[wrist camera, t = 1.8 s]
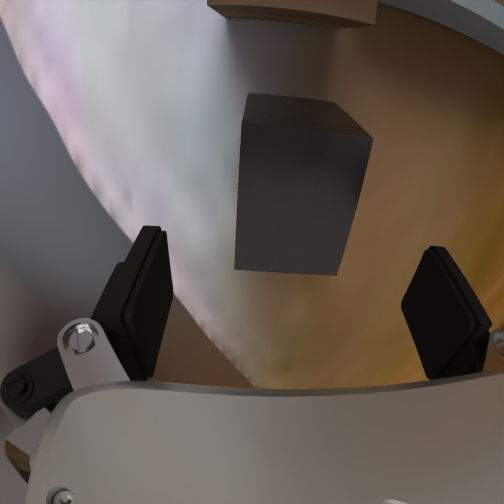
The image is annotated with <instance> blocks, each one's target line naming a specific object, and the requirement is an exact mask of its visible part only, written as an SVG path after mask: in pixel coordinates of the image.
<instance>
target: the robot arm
mask: <svg viewBox="0 0 504 504" xmlns="http://www.w3.org/2000/svg"><path fill="white" fill-rule="evenodd" d="M172 299H173V284H172V277H171V269H170V260H169V251H168V242H167V233H166V231H161V227H160V226H143V227H142V229H141V231H140V233H139V234H138V236H137V238H136V240H135V242H134V244H133V246H132V248H131V250H130V252H129V254H128V256H127V258H126V260H125V262H119V263H118V264H117V265H116V267H115V269H114V271H113V273H112V275H111V277H110V279H109V281H108V283H107V285H106V287H105V289H104V291H103V293H102V295H101V297H100V299H99V302H98V303H97V305H96V308H95V310H94V312H93V314H92V316H91V319H87V318H84V319H77V320H74V321H72V322H70V323H68V324H67V325H66V326H65V327H64V328H63V329H62V330H61V332H60V333H59V335H58V340H57V344H58V347H56V348H54V349H52V350H50V351H49V352H47V353H45V354H43V355H41V356H39V357H37V358H35V359H33V360H31V361H30V362H28V363H26V364H24V365H22V366H20V367H18V368H16V369H14V370H13V371H11V372H10V373H9V374H7V376H6V377H5V378H4V379H3V382H2V384H1V388H0V504H504V331H503V330H500V329H496V330H493V331H492V332H491V333H489V331H488V330H489V328H490V327H491V326H492V322H491V320H490V319H489V317H488V315H487V313H486V311H485V310H484V308H483V306H482V305H481V303H480V301H479V299H478V298H477V296H476V294H475V293H474V291H473V289H472V288H471V286H470V285H469V283H468V281H467V280H466V278H465V277H464V275H463V274H462V272H461V270H460V269H459V267H458V266H457V264H456V263H455V261H454V260H453V258H452V257H451V255H450V254H449V252H448V251H447V250H446V248H445V247H440V246H430V247H429V248H428V249H427V250H425V252H424V254H423V256H422V259H421V261H420V263H419V265H418V268H417V270H416V272H415V274H414V276H413V278H412V281H411V283H410V285H409V287H408V289H407V291H406V293H405V295H404V297H403V299H402V302H401V309H402V312H403V314H404V317H405V319H406V322H407V324H408V327H409V330H410V332H411V335H412V338H413V340H414V343H415V346H416V348H417V351H418V354H419V357H420V360H421V362H422V365H423V368H424V371H425V374H426V377H427V378H428V379H430V380H427V381H420V382H411V383H402V384H392V385H381V386H368V387H353V388H331V389H255V388H234V387H232V388H231V387H215V386H201V385H189V384H177V383H165V382H152V381H147V378H148V377H150V378H152V377H153V374H154V370H155V366H156V362H157V358H158V354H159V349H160V346H161V341H162V338H163V334H164V330H165V326H166V322H167V318H168V315H169V311H170V307H171V303H172ZM39 440H40V441H39ZM38 441H39V444H38ZM36 448H37V450H36V454H35V458H34V461H33V465H32V469H30V464H29V462H30V456H31V455H32V453H33V451H34V450H35V449H36Z"/></svg>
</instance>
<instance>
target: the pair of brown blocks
mask: <svg viewBox="0 0 504 504" xmlns="http://www.w3.org/2000/svg"><path fill="white" fill-rule="evenodd" d="M377 3H378V0H207V5H208V6H209V7H211V8H212V9H214V10H215V11H216V12H218V13H219V14H221V15H222V16H223V17H225V18H238V19H258V20H271V21H282V22H291V23H299V24H306V25H313V26H319V27H325V28H331V29H342V28H350V27H359V26H370V25H375V23H376V13H377Z"/></svg>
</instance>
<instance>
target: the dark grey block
mask: <svg viewBox="0 0 504 504" xmlns="http://www.w3.org/2000/svg"><path fill="white" fill-rule="evenodd" d="M372 142H373V138H372V137H371V136H370V135H369V134H368V133H367V132H366V131H365V130H364V129H363V128H362V127H361V126H360V125H359V124H358V123H357V122H356V121H354V120H353V119H352V118H351V117H350V116H349V115H348V114H347V113H346V112H345V111H344V110H342V109H341V108H340V107H339V106H338V105H337V104H336V103H333V102H327V101H320V100H313V99H306V98H297V97H288V96H279V95H267V94H254V93H248V97H247V101H246V106H245V110H244V115H243V120H242V128H241V145H240V163H239V182H238V201H237V222H236V244H235V267H234V269H235V270H250V271H265V272H281V273H298V274H315V275H333V276H337V273H338V270H339V266H340V263H341V260H342V257H343V253H344V250H345V247H346V243H347V240H348V236H349V233H350V229H351V226H352V222H353V219H354V215H355V211H356V207H357V204H358V200H359V196H360V192H361V188H362V184H363V180H364V176H365V172H366V168H367V164H368V159H369V155H370V151H371V146H372Z"/></svg>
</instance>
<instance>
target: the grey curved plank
mask: <svg viewBox="0 0 504 504" xmlns="http://www.w3.org/2000/svg"><path fill="white" fill-rule="evenodd" d="M378 2H380V3H383V4H387V5H390V6H393V7H396V8H400V9H403V10H406V11H408V12H411V13H414V14H417V15H420V16H422V17H425V18H428V19H430V20H433V21H435V22H438V23H440V24H442V25H445V26H447V27H449V28H452V29H454V30H456V31H458V32H460V33H462V34H465V35H467V36H469V37H471V38H473V39H475V40H477V41H479V42H481V43H482V44H484V45H486V46H488V47H490V48H492V49H494V50H495V51H497V52H499V53H501V54H502V55H504V6H502V5H500V4H499V3H497V2H496V1H494V0H378Z"/></svg>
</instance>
